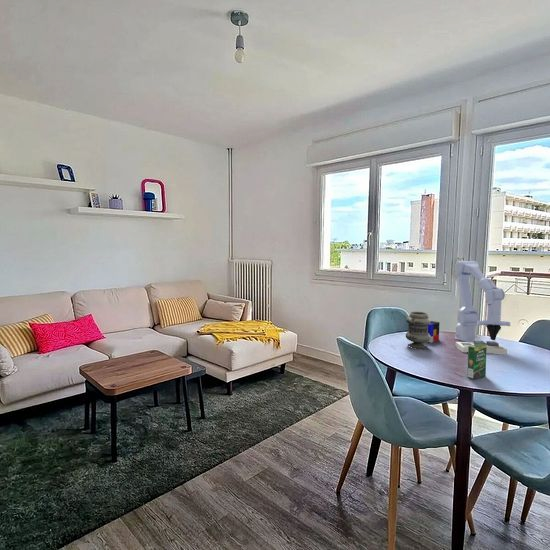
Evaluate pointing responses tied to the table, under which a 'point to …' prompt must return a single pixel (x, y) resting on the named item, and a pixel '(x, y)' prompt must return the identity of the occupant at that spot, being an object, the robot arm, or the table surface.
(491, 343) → the right button
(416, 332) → the stone vase
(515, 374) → the table surface
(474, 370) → the coffee box
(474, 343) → the middle button
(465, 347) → the button board
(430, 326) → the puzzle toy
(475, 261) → the robot arm
